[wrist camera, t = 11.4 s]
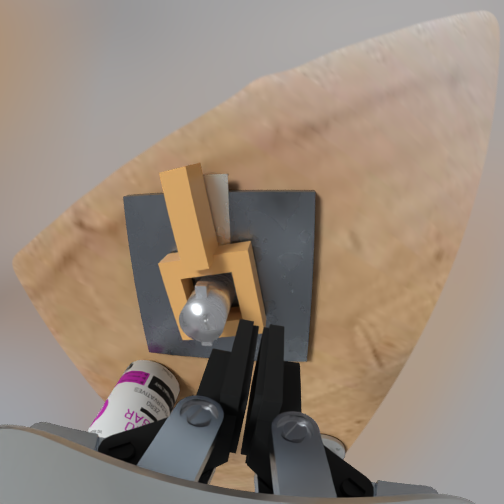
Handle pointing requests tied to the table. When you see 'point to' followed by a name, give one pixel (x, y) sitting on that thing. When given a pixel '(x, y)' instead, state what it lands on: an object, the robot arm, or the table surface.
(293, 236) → the base plate
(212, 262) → the tan wooden bracket
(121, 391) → the supplement can
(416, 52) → the table surface
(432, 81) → the table surface
